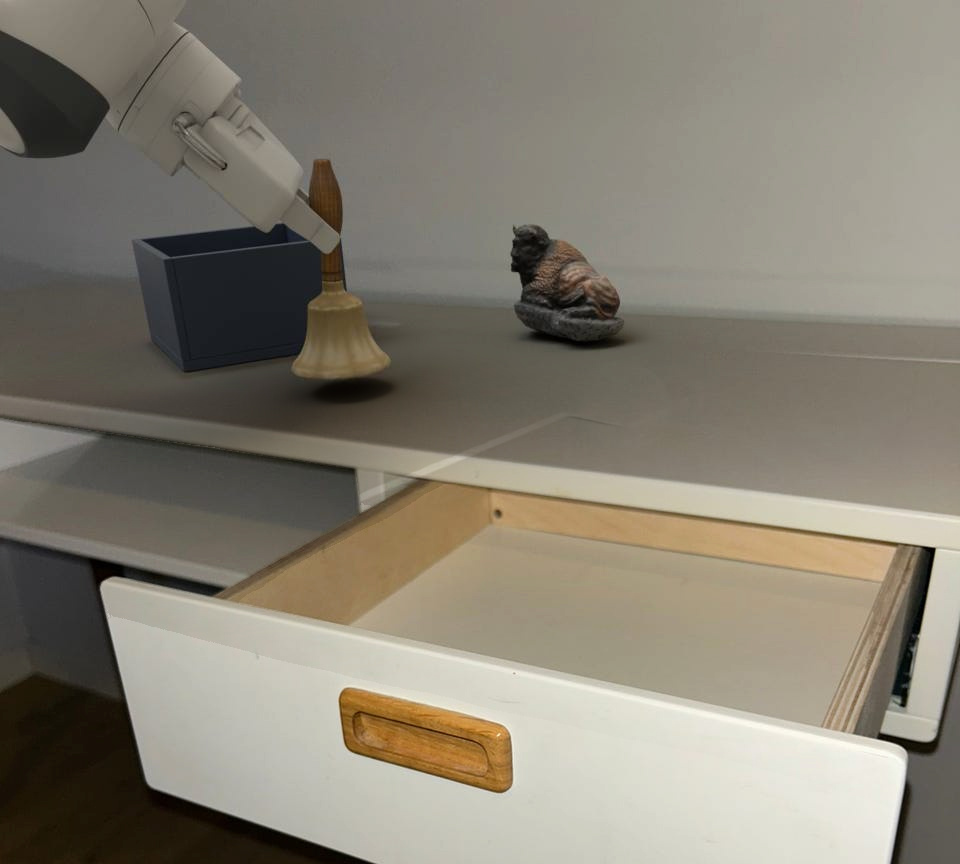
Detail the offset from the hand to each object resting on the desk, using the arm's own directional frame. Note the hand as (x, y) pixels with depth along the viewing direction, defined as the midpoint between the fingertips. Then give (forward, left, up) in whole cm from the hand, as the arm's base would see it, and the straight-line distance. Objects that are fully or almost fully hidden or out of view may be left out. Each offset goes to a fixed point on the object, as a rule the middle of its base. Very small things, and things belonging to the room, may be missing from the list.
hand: (335, 242), depth 85 cm
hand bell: (-1, 0, -10) cm, 10 cm away
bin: (-3, +24, -12) cm, 27 cm away
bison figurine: (+23, +5, -12) cm, 27 cm away
